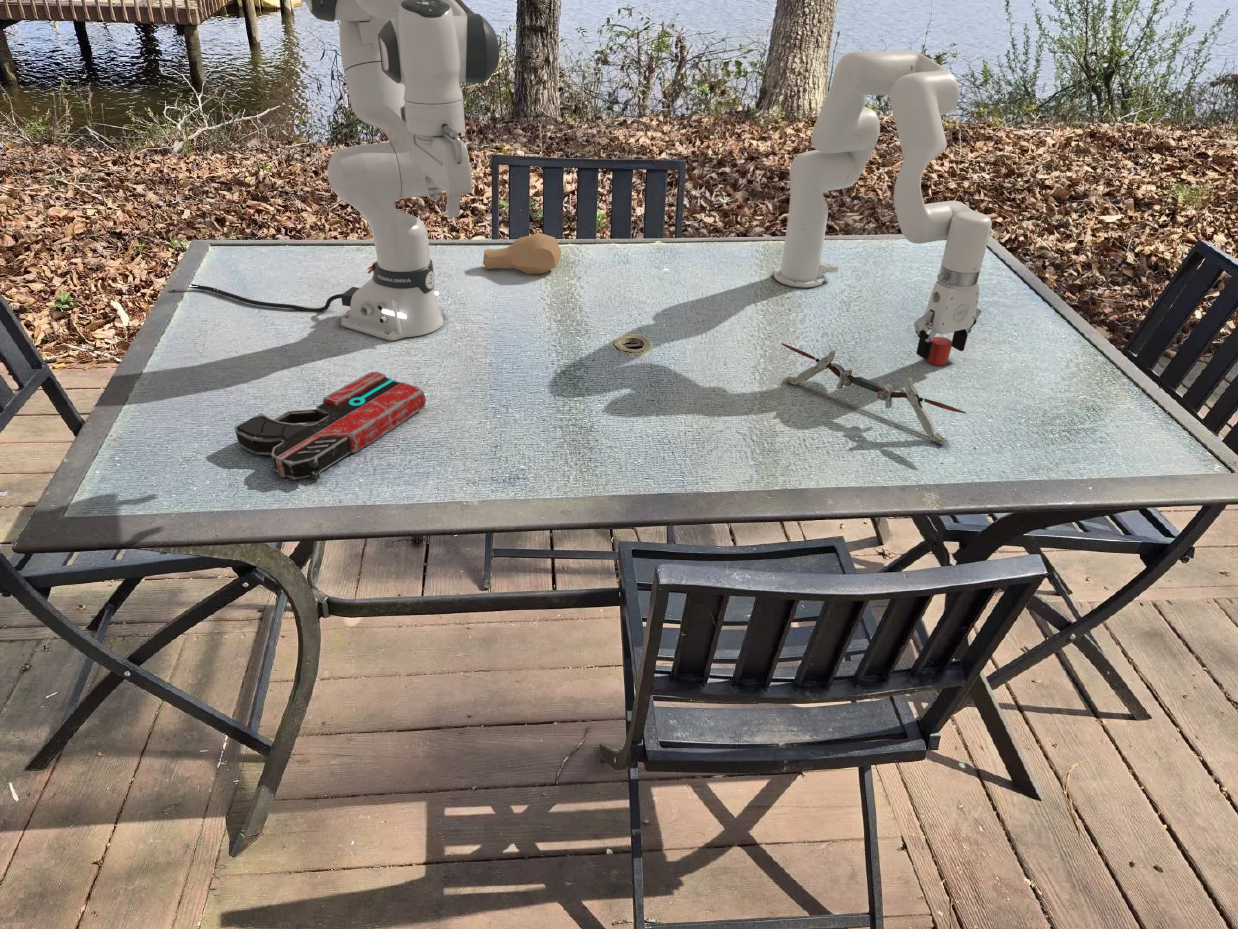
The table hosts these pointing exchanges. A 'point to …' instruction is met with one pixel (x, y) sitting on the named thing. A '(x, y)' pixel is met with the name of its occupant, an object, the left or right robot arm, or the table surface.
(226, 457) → the table surface
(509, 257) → the squash
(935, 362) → the canister
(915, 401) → the bow
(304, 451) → the gun
